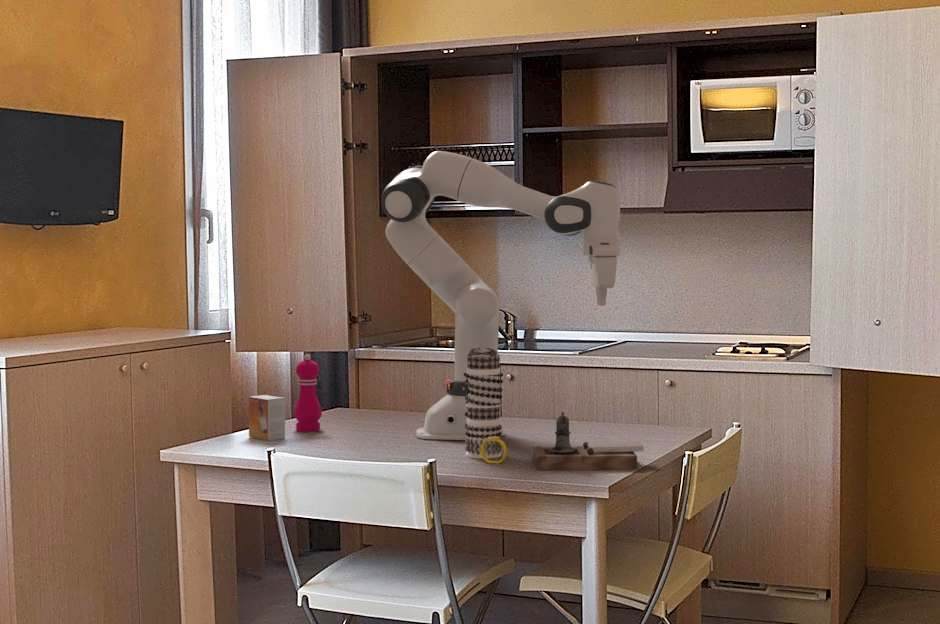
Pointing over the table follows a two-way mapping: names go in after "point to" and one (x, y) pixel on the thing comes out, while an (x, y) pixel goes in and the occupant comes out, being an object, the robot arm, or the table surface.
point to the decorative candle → (483, 402)
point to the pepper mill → (307, 397)
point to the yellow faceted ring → (496, 438)
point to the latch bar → (615, 447)
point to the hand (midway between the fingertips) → (601, 305)
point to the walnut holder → (583, 460)
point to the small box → (267, 417)
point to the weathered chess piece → (562, 437)
